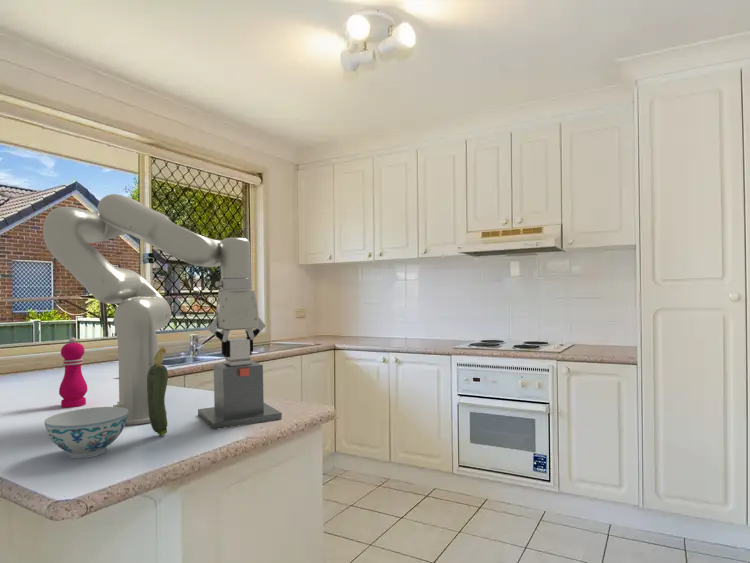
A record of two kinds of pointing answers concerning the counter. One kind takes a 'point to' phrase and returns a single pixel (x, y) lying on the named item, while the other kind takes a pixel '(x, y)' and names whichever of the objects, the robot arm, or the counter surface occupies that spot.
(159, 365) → the vegetable
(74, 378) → the pepper mill
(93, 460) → the counter surface
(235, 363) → the column
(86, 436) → the chinaware
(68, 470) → the counter surface
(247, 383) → the stand base
